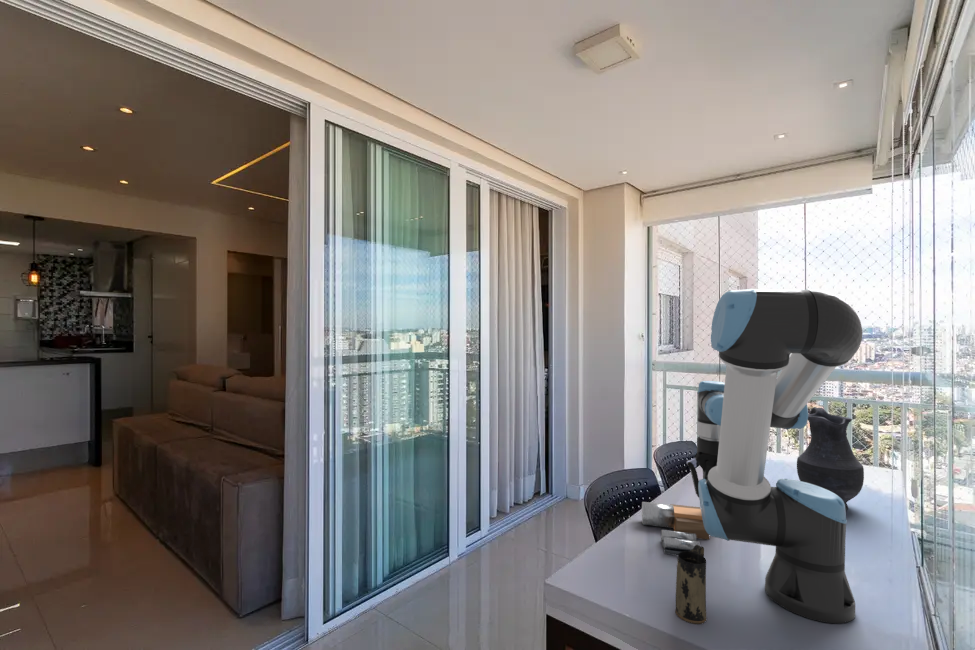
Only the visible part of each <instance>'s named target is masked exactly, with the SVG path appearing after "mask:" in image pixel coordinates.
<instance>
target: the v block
mask: <svg viewBox="0 0 975 650" xmlns="http://www.w3.org/2000/svg"><path fill="white" fill-rule="evenodd" d="M660 534H661V537H660V543H661V545H662V549H663V553H664V554H665V555H669V556H670V555H672V556H678V554H679V553H680V552H683V551H688V552H689V551H690V550H692V549H693V548H694V546H695V545H698V546H701V542H700V541H699V540H697V538H696V534H694V533H686V532H678V531H674V530H668V529H661V533H660Z"/></svg>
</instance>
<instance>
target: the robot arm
mask: <svg viewBox="0 0 975 650" xmlns="http://www.w3.org/2000/svg"><path fill="white" fill-rule="evenodd" d="M710 331H711V334H710V344H711V346H712V349H713V350H715V351H717V352H718V358H719V360H720V361H721V362H723V364H724V365H725V366H726V369H725V378H724V381H713V380H703V381H700V382H699V383H698V388H697V390H698V391H697V427H696V428H697V430H696V431H697V433H696V434H697V435H698V436H697V438H696V454H694V457H693V458H692V459H686V461H685V462H686V465H687V466H688V468H689V470H690V474H691V479H692V483H693V487H694V492H695V495H696V496H697V497H698V500H699V507H700V508H701V514H702V519H703V524H704V528H705V530H706V532H707V533H708V534H709V535H710V536H709V537H712V538H717V539H722V540H725V541H736V542H743V543H750V544H756V545H764V546H765V545H766V546H773V547H775V554H774V557H773V559H772V561H771V563H770V566H769V568H768V570H767V573H766V575H765V578H764V579H765V580H764V589H765V594H767V595H768V597H769V598H770V599H771V600H772V601H774V602H775V603H776V604H777V605H779V606H781V607H782V608H783V609H786V610H787V611H789V612H792V613H794V614H796V615H798V616H801V617H803V618H806V619H807V618H808V619H810V620H814V621H818V622H823V623H829V624H845V623H849V622H851V621H853V620H854V619H855V618H856V602H855V597H854V595H853V592H852V589H851V585H850V583H849V580H848V577H847V574H846V572H845V571H846V569H845V568H846V562H845V561H846V540H847V539H846V537H847V534H846V533H847V524H848V520H847V515H846V510H845V504H844V502H843V500H842V499H841V498H840V497H839V496H838V495H836V494H835V493H833V492H831V491H829V490H827V489H824V488H822V487H819V486H816V485H813V484H810V483H806V482H802V481H800V480H797V479H792V478H780V479H778V480H777V481H776V482H775V486H771V482H770V481H769V480H768V479H767V478H766V477H765V470H766V469H765V468H766V464H767V463H766V461H767V456H768V455H767V453H768V445H769V440H770V432H771V431H770V430H771V428H775V429H776V428H777V429H784V430H791V429H793V430H794V429H795V430H800V429H804V428H805V427H806V426H807V424H808V422H807V421H808V414H809V409H808V405H807V404H808V403H809V402H810V400H811V399H812V398H813V397H814V395H815V394H816V393H817V392H818V390H819V389H820V388H821V387H822V385H823V384H824V383H825V382H826V381H827V379H828V378H829V377H830V375H831V374H832V373H833V371H834V370H835V369H836V368H837V367H841V366H843V365H845V364H848V363H849V361H851V360H852V358H853V357H854V355H856V353H857V352H858V350H859V349H860V347H861V343H862V341H863V327H862V323H861V320H860V318H859V316H858V314H857V312H856V311H855V309H854V308H853V307H852V306H851V305H850V304H849V303H848V302H847V301H846V300H844V299H843V298H841V297H840V296H838V295H836V294H835V293H831V292H829V291H825V290H822V289H821V290H819V289H812V288H811V289H810V288H809V289H808V288H806V289H778V288H777V289H769V288H767V289H766V288H759V289H758V288H747V289H735V290H733V289H732V290H729V291H726V292H725V293H723V295H721V296H720V298H719V299H718V302H717V303H716V306H715V309H714V313H713V316H712V321H711V330H710ZM778 372H780V373H779V374H778ZM697 464H698V466H699V467H700V468H701V469H702V479H699V477H698V472H697V469H696V468H697Z"/></svg>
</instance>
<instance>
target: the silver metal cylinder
mask: <svg viewBox="0 0 975 650" xmlns="http://www.w3.org/2000/svg"><path fill="white" fill-rule="evenodd" d="M641 522H642V523H641V524H642V525H644V526H650V527H651V526H652V527H660V528H661V527H662V528H670V529H673V528H674V523H675V516H674V507H673V505H670V504H669V503H668V504H666V503H657V502H649V501H648V502H647V501H642V502H641Z"/></svg>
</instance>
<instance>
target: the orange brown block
mask: <svg viewBox="0 0 975 650" xmlns="http://www.w3.org/2000/svg"><path fill="white" fill-rule="evenodd" d="M673 507H674V516H675V517H680V518H689V519H698V520H703V519H702V514H701V509H694V508H685V507H675V506H673ZM672 529H673V531H675V523H674V528H672Z"/></svg>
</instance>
